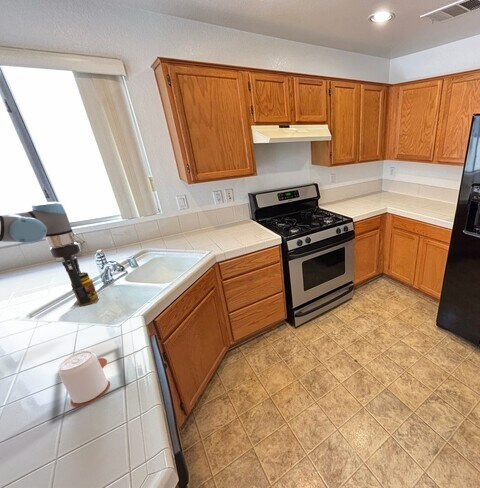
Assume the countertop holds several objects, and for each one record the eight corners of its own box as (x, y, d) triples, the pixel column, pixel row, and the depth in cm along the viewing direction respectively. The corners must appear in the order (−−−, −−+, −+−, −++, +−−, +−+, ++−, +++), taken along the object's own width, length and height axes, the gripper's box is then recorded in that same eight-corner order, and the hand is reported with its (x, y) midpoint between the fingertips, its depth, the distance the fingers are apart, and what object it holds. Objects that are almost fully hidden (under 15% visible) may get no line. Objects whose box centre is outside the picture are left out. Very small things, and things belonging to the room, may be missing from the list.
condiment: (97, 303, 103) (86, 276, 99) (69, 309, 99) (57, 281, 95) (102, 295, 109) (92, 269, 105) (76, 301, 106) (65, 274, 102)
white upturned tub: (66, 400, 74) (49, 367, 70) (98, 378, 81) (84, 346, 77) (83, 408, 71) (66, 374, 67) (114, 385, 78) (101, 353, 74)
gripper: (76, 247, 92) (98, 304, 99) (77, 237, 105) (96, 288, 113) (46, 253, 87) (72, 313, 94) (51, 242, 100) (73, 295, 108)
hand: (85, 299), depth 103 cm, fingers closed on condiment, 6 cm apart
